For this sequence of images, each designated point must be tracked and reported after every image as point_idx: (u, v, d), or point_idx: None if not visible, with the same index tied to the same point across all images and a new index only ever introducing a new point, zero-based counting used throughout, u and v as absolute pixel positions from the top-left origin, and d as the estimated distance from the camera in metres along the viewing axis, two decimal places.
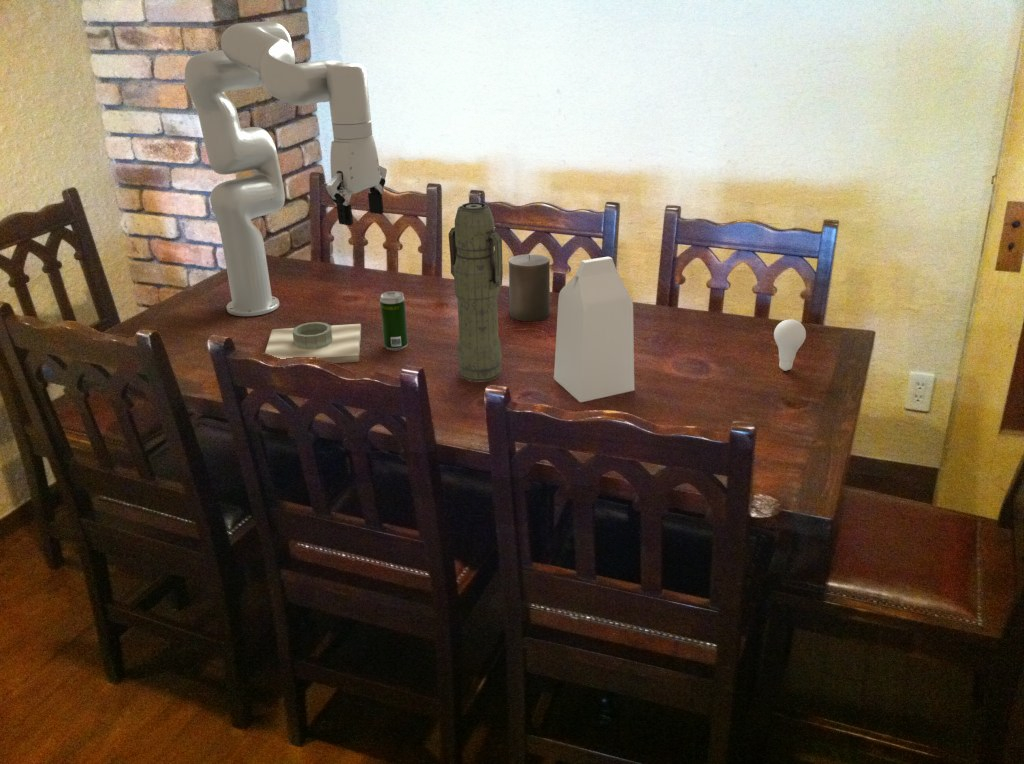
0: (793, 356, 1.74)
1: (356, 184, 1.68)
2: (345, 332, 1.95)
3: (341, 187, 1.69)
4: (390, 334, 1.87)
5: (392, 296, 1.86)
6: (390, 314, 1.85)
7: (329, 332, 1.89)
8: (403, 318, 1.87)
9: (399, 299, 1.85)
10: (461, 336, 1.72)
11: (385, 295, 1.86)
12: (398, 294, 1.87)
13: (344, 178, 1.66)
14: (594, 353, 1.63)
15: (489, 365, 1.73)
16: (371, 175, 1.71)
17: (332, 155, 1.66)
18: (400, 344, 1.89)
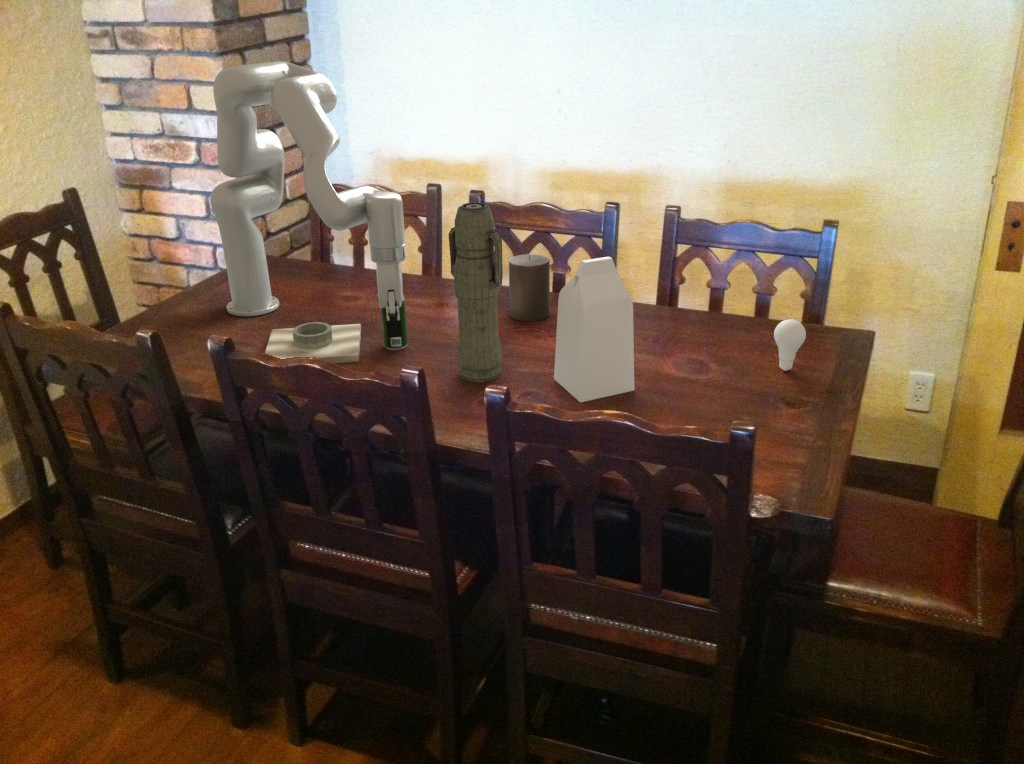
0: (793, 356, 1.74)
1: None
2: (345, 332, 1.95)
3: (387, 304, 1.84)
4: None
5: None
6: None
7: (329, 332, 1.89)
8: (403, 318, 1.87)
9: None
10: (461, 336, 1.72)
11: None
12: None
13: (396, 295, 1.81)
14: (594, 353, 1.63)
15: (489, 365, 1.73)
16: None
17: (382, 277, 1.79)
18: (400, 344, 1.89)
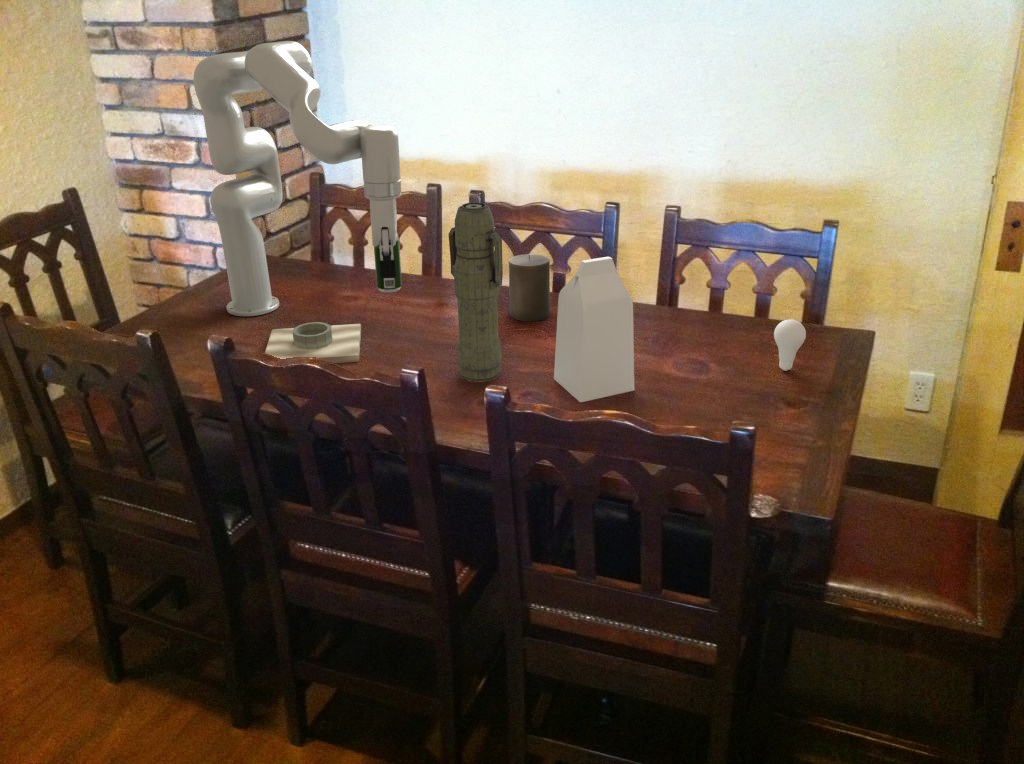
0: (793, 356, 1.74)
1: None
2: (345, 332, 1.95)
3: None
4: None
5: None
6: None
7: (329, 332, 1.89)
8: (397, 258, 1.82)
9: None
10: (461, 336, 1.72)
11: None
12: None
13: (390, 233, 1.75)
14: (594, 353, 1.63)
15: (489, 365, 1.73)
16: None
17: (376, 213, 1.74)
18: (393, 286, 1.83)
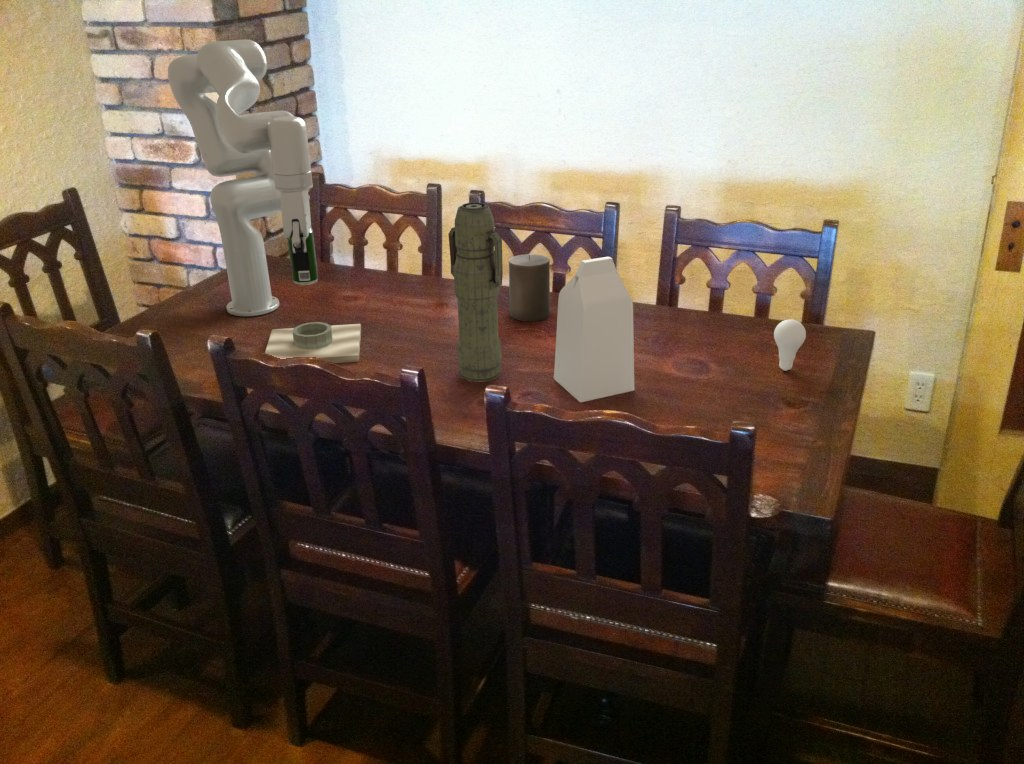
0: (793, 356, 1.74)
1: (308, 229, 1.77)
2: (345, 332, 1.95)
3: (293, 236, 1.77)
4: None
5: None
6: None
7: (329, 332, 1.89)
8: (311, 250, 1.80)
9: None
10: (461, 336, 1.72)
11: None
12: None
13: (301, 225, 1.74)
14: (594, 354, 1.63)
15: (489, 365, 1.73)
16: (310, 219, 1.81)
17: (285, 205, 1.72)
18: (309, 278, 1.82)
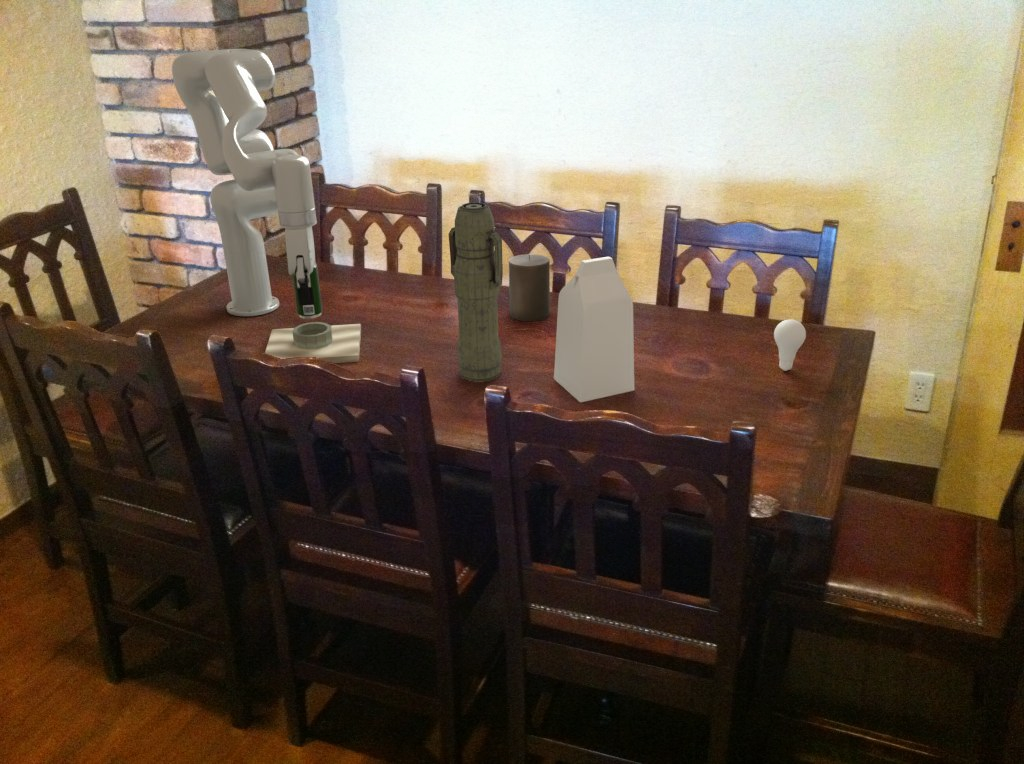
0: (793, 356, 1.74)
1: (312, 264, 1.80)
2: (345, 332, 1.95)
3: (297, 271, 1.80)
4: None
5: None
6: None
7: (329, 332, 1.89)
8: (315, 285, 1.83)
9: None
10: (461, 336, 1.72)
11: None
12: None
13: (305, 261, 1.77)
14: (594, 353, 1.63)
15: (489, 365, 1.73)
16: (314, 254, 1.84)
17: (290, 242, 1.76)
18: (313, 312, 1.85)
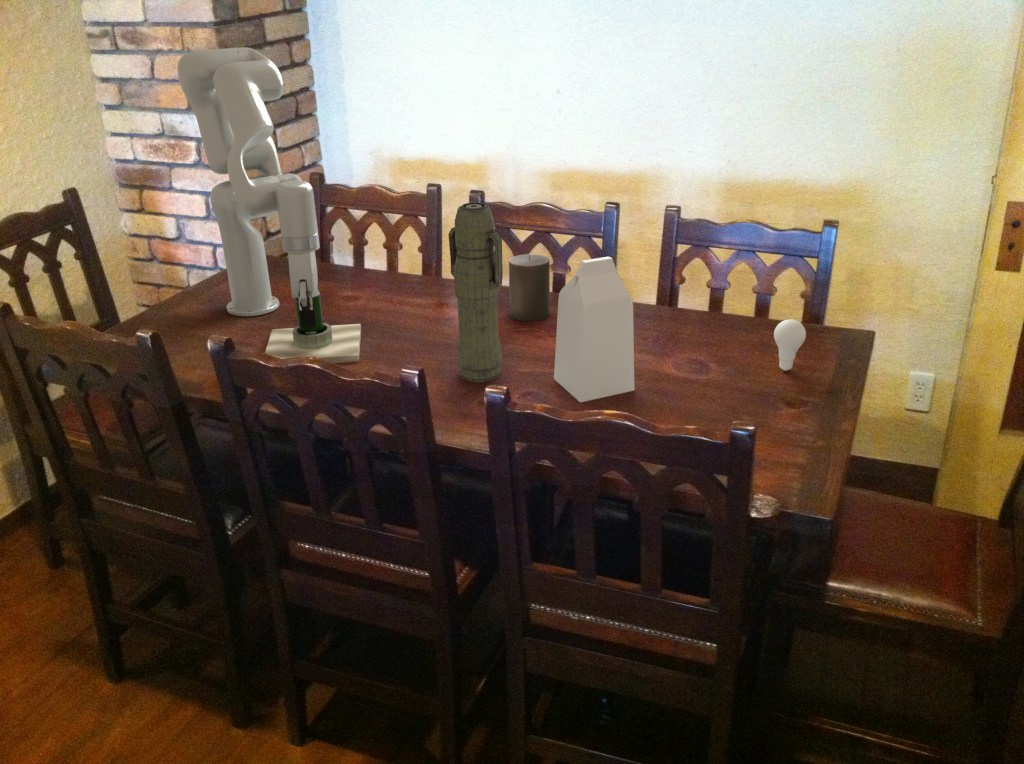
0: (793, 356, 1.74)
1: (315, 288, 1.82)
2: (345, 332, 1.95)
3: None
4: (305, 329, 1.87)
5: None
6: None
7: (329, 332, 1.89)
8: (318, 313, 1.87)
9: None
10: (461, 336, 1.72)
11: None
12: None
13: (308, 285, 1.80)
14: (594, 354, 1.63)
15: (489, 365, 1.73)
16: None
17: (293, 266, 1.78)
18: None
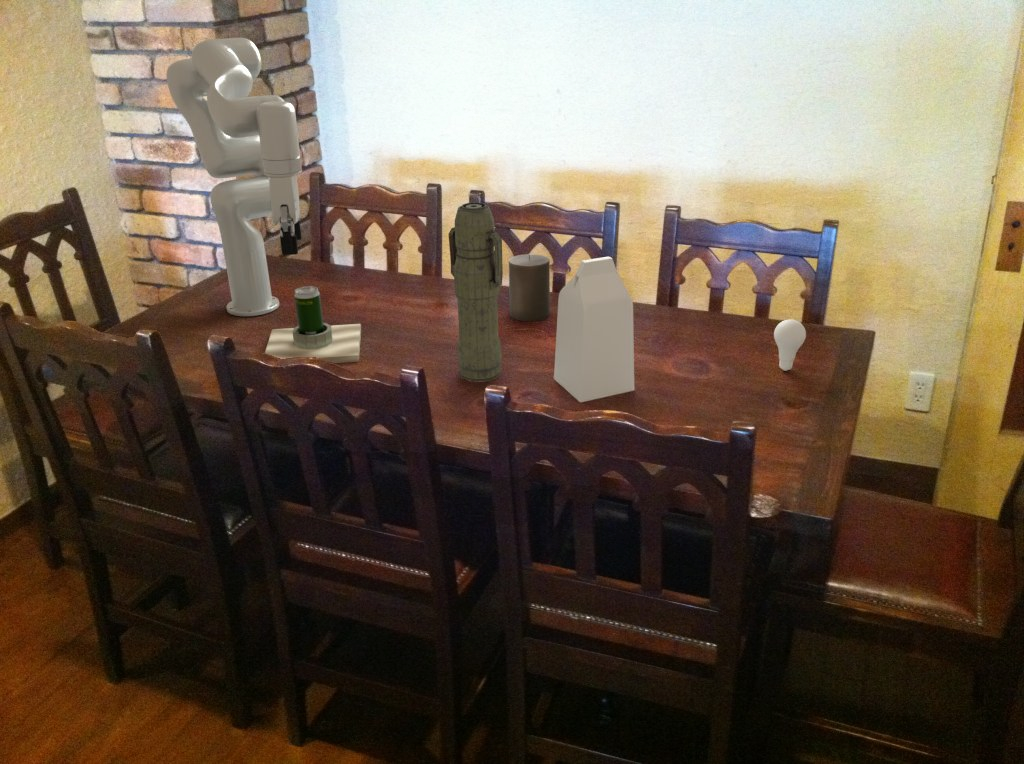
0: (793, 356, 1.74)
1: (297, 214, 1.77)
2: (345, 332, 1.95)
3: None
4: (305, 329, 1.87)
5: (306, 291, 1.85)
6: (304, 309, 1.85)
7: (329, 332, 1.89)
8: (318, 313, 1.87)
9: (313, 294, 1.84)
10: (461, 336, 1.72)
11: (299, 290, 1.86)
12: (313, 289, 1.86)
13: (290, 210, 1.74)
14: (594, 353, 1.63)
15: (489, 365, 1.73)
16: None
17: (274, 190, 1.72)
18: None
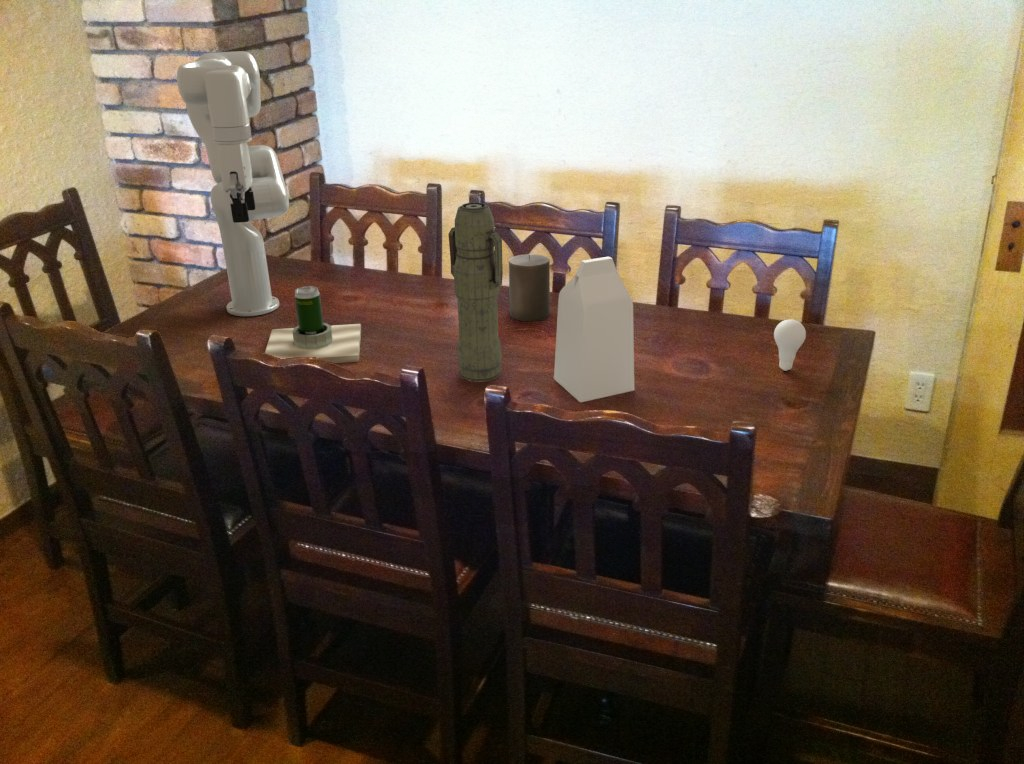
0: (793, 356, 1.74)
1: (247, 182, 1.79)
2: (345, 332, 1.95)
3: None
4: (305, 329, 1.87)
5: (306, 291, 1.85)
6: (304, 309, 1.85)
7: (329, 332, 1.89)
8: (318, 313, 1.87)
9: (313, 294, 1.84)
10: (461, 336, 1.72)
11: (300, 290, 1.86)
12: (313, 289, 1.86)
13: (239, 178, 1.76)
14: (594, 353, 1.63)
15: (489, 365, 1.73)
16: (250, 173, 1.83)
17: (223, 157, 1.75)
18: None
